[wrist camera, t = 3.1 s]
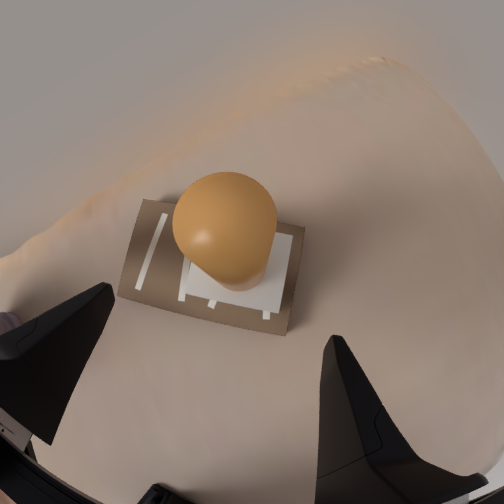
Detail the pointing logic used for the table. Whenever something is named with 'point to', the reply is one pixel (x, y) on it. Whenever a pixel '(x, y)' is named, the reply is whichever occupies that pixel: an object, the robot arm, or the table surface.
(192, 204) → the rubber stamp
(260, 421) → the table surface
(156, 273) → the walnut board
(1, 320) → the grey stacked rounded piece
